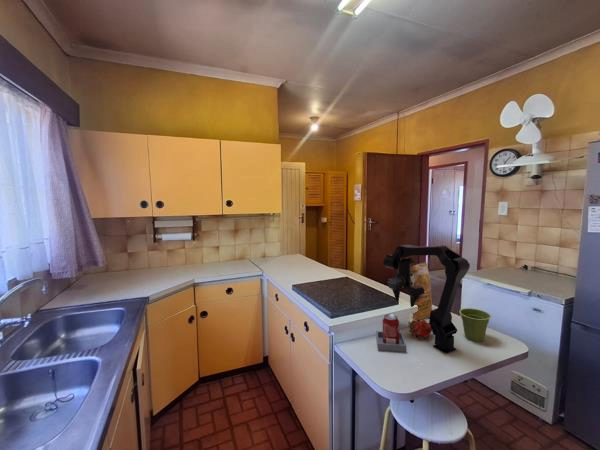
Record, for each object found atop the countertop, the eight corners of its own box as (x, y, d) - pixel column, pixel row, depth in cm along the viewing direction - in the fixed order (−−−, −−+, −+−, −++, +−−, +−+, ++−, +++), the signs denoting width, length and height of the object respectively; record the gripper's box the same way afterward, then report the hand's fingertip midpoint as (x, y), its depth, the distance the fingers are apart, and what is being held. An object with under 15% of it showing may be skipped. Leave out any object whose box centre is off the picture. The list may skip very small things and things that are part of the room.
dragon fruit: (407, 341, 124) (429, 340, 127) (419, 337, 117) (442, 336, 121) (402, 322, 128) (423, 321, 132) (413, 317, 122) (435, 317, 125)
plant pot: (453, 336, 124) (453, 312, 123) (467, 329, 130) (468, 306, 129) (481, 347, 114) (482, 321, 113) (495, 339, 120) (496, 314, 119)
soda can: (397, 349, 114) (397, 321, 113) (380, 345, 117) (380, 318, 117) (400, 341, 120) (400, 315, 119) (385, 338, 123) (384, 312, 122)
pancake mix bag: (404, 318, 145) (404, 265, 142) (426, 309, 155) (426, 260, 153) (416, 322, 139) (416, 268, 137) (437, 313, 149) (437, 262, 147)
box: (402, 339, 123) (402, 332, 123) (406, 352, 112) (406, 345, 112) (376, 337, 125) (376, 331, 125) (377, 350, 114) (377, 343, 114)
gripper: (377, 269, 134) (377, 300, 136) (406, 278, 117) (406, 313, 119) (395, 266, 139) (395, 296, 140) (425, 275, 122) (425, 309, 123)
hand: (404, 303), depth 130 cm, fingers open, 9 cm apart
